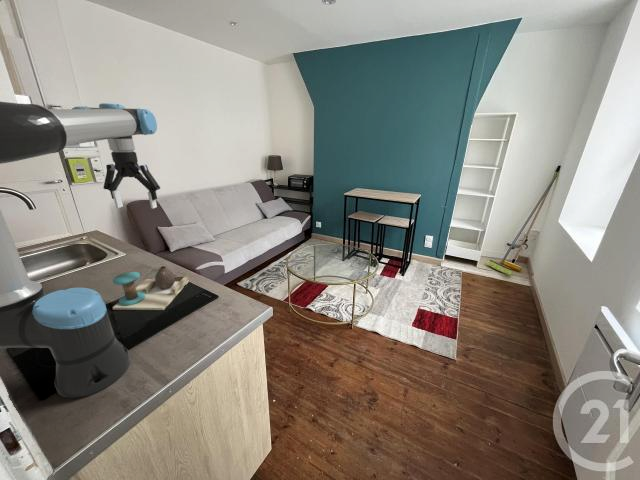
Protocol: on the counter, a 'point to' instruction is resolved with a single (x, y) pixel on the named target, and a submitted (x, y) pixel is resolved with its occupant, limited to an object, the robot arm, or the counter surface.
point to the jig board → (146, 292)
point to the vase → (164, 278)
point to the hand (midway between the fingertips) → (137, 207)
